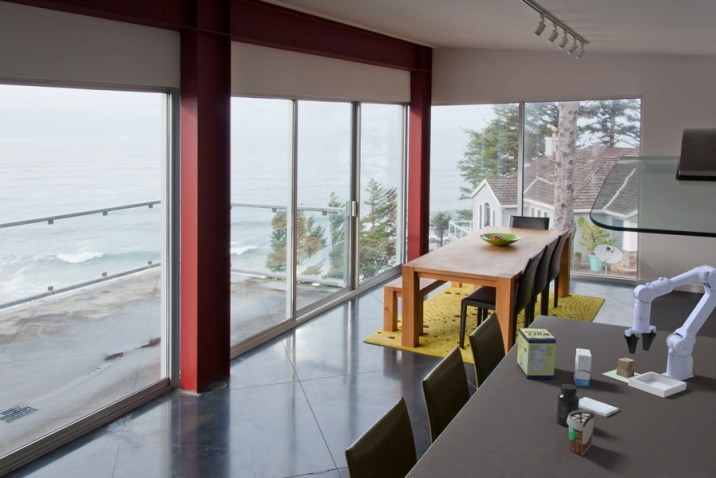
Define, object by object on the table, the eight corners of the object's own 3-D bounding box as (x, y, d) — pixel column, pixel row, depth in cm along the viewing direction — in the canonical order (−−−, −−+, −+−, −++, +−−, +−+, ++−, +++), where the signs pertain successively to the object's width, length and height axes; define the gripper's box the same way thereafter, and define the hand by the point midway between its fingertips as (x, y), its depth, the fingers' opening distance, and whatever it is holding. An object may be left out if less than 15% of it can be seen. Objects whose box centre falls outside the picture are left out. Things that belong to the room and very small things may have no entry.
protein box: (542, 365, 280) (544, 327, 277) (554, 379, 264) (556, 339, 262) (516, 365, 279) (518, 327, 277) (526, 379, 264) (528, 339, 261)
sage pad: (621, 369, 276) (621, 367, 276) (646, 377, 268) (646, 376, 268) (602, 375, 270) (602, 373, 269) (627, 384, 261) (627, 382, 261)
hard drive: (572, 402, 240) (606, 413, 231) (585, 396, 245) (619, 407, 236) (572, 406, 240) (605, 418, 231) (585, 401, 246) (618, 412, 236)
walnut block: (623, 372, 271) (625, 357, 270) (634, 376, 268) (635, 360, 267) (616, 374, 269) (617, 359, 268) (626, 378, 265) (627, 362, 264)
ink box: (590, 387, 257) (592, 355, 255) (575, 386, 258) (577, 354, 256) (587, 379, 265) (589, 348, 263) (573, 377, 266) (575, 347, 264)
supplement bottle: (558, 416, 231) (560, 381, 229) (579, 421, 227) (582, 385, 225) (552, 423, 225) (555, 387, 223) (574, 428, 221) (577, 392, 219)
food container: (572, 437, 215) (574, 405, 214) (593, 442, 212) (595, 410, 210) (558, 451, 205) (561, 419, 204) (580, 457, 202) (582, 424, 200)
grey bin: (650, 379, 266) (650, 371, 266) (685, 390, 255) (686, 382, 255) (628, 386, 258) (628, 378, 258) (663, 398, 247) (664, 390, 247)
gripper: (637, 322, 259) (634, 357, 261) (663, 317, 266) (660, 352, 268) (621, 317, 265) (618, 352, 268) (648, 312, 272) (645, 346, 274)
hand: (638, 351), depth 268 cm, fingers open, 7 cm apart
